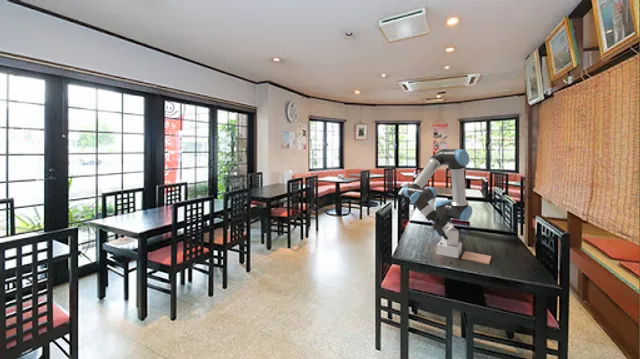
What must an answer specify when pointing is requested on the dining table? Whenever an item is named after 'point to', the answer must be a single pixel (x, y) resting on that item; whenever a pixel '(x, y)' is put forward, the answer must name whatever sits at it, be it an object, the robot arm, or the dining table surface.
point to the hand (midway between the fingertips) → (453, 240)
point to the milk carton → (450, 235)
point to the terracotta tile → (476, 257)
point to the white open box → (449, 250)
